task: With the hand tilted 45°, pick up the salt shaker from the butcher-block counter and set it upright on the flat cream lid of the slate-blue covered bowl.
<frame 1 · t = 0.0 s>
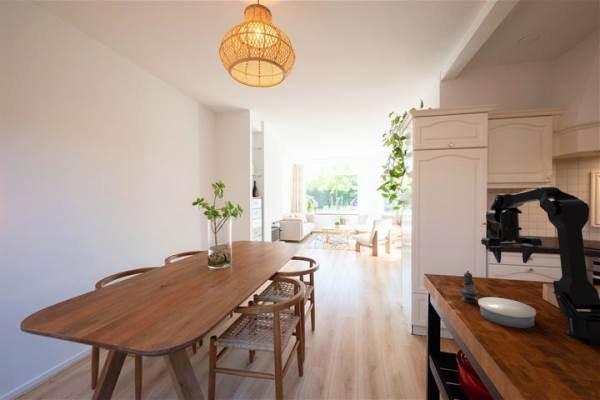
hand: (511, 263, 96), 15 cm above the countertop, tool pointing down, fingers open, 9 cm apart
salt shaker: (469, 300, 97), on the countertop
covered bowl: (506, 317, 82), on the countertop
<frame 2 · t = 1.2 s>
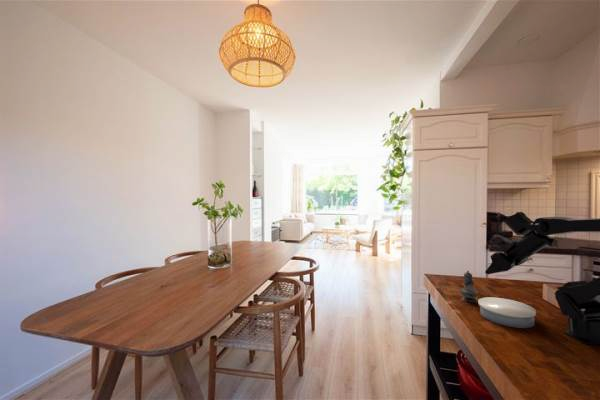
hand: (491, 271, 91), 13 cm above the countertop, tool tilted 45°, fingers open, 9 cm apart
nothing on the countertop moved.
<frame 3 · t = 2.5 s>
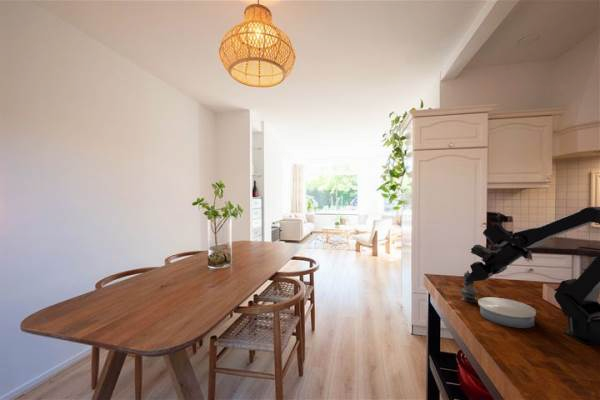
hand: (472, 278, 96), 9 cm above the countertop, tool tilted 45°, fingers open, 9 cm apart
nothing on the countertop moved.
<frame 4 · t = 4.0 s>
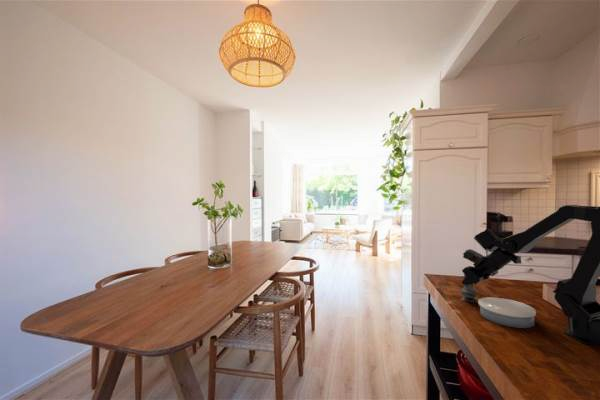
hand: (464, 282, 99), 7 cm above the countertop, tool tilted 45°, fingers closed on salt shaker, 4 cm apart
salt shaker: (469, 300, 97), on the countertop, touching gripper
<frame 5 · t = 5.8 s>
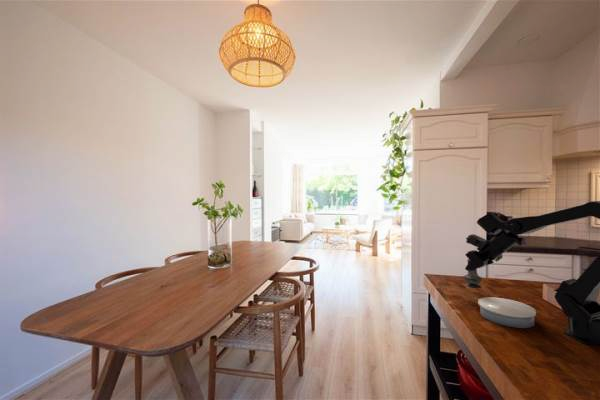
hand: (468, 268, 96), 13 cm above the countertop, tool tilted 45°, fingers closed on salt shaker, 4 cm apart
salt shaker: (473, 286, 95), point 6 cm above the countertop, touching gripper
when the fingers open (11 cm above the countertop, at t = 7.5 s): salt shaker stays where it is, resting on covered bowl.
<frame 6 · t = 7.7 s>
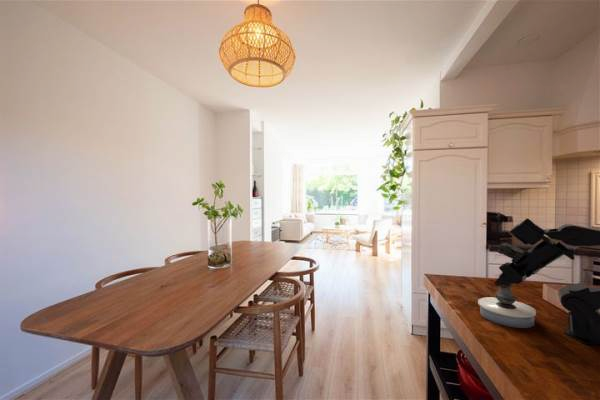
hand: (498, 282, 83), 12 cm above the countertop, tool tilted 45°, fingers open, 6 cm apart
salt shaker: (505, 306, 82), point 4 cm above the countertop, touching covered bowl
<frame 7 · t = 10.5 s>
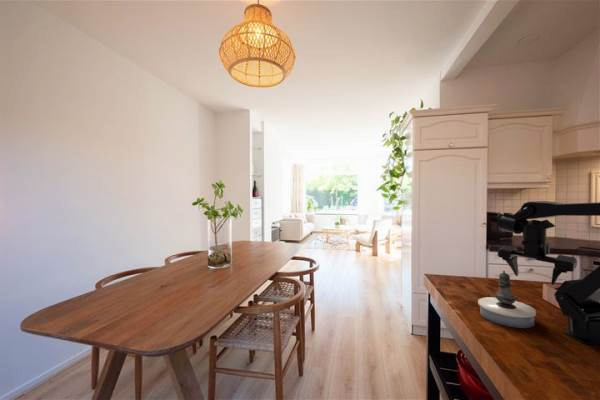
hand: (534, 279, 83), 12 cm above the countertop, tool pointing down, fingers open, 9 cm apart
nothing on the countertop moved.
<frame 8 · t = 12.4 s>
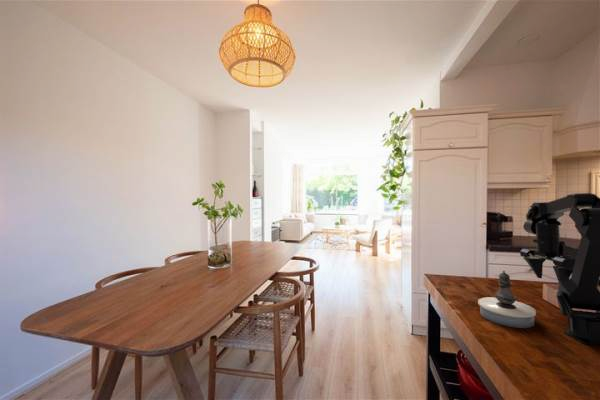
hand: (550, 282, 83), 11 cm above the countertop, tool pointing down, fingers open, 9 cm apart
nothing on the countertop moved.
at the end: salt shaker inside the target area on the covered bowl (0.1 cm from its centre), point 3.8 cm above the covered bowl's base; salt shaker tilted 0°; the gripper is holding nothing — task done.
